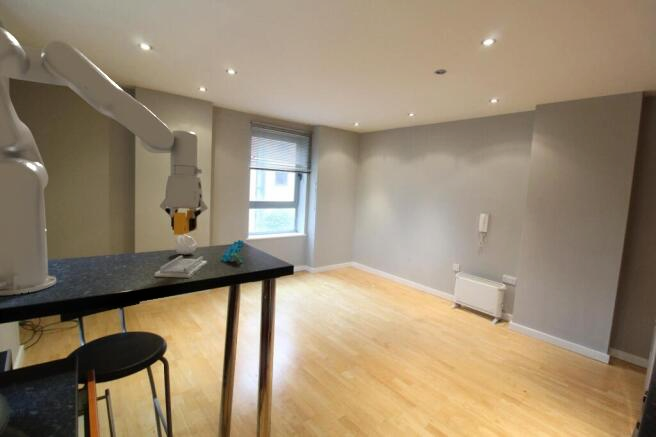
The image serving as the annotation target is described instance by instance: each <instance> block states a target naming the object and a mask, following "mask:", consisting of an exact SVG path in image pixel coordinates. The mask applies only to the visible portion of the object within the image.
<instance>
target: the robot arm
mask: <svg viewBox="0 0 656 437" xmlns="http://www.w3.org/2000/svg"><path fill="white" fill-rule="evenodd" d="M3 77H5V78H8V79H14V80H19V81H20V80H22V81H27V82H28V81H29V82H35V83H40V84H47V85H48V84H49V85H54V86H56V85H57V86H63V87H64V86H66V87H67V88H70V89H71V91H73V92H74V93H75V94H76V95H78V96H79V97H80V98H81V99H83V100H84V101H85V102H87V104H88V105H90V106H91V107H92V108H93V109H94V110H96V111H98V112H99V113H100V114H102V115H104V116H106V117H108V118H110V119H113V120H115V121H117V122H118V123H120V124H121V125H122V126H123V127H125V128H126V129H128V130H129V132H131V133H132V134H134V135H135V136H136V137H137V138H138V139H139V142H140V145H141V146H142V148H143V149H144V150H145V151H147V152H149V153H152V154H170V162H169V163H170V167H169V168H170V175H168V177H167V181H166V186H165V192H164V193H165V197H164V199H163V201H161V203H160V204H159V208H161V209H162V210H163V211H165V212H166V214H167V215H168V216H169V217H170V226H171V228H172V231H174V213H176V212H179V209H187V210H189V211H190V215H191V218H190V219H189V230H190V231H191V232H193V230H194V231H196V230H195V228H196V217H197V218H199V216H200V215H201V214H202V213H204V212H205V211H207V210H208V208H209V207H208V206H207V204H206V203H205V202H204V200H203V190H202V189H203V188H202V187H203V186H202V181H201V177H198V175H199V174H202V173H203V172H202V171H203V170H202V169H201V168H199V167H198V135H197V134H196V133H195V132H193V131H187V130H181V129H180V130H179V129H178V130H177V129H176V130H172V131H171V129H170V128H169V127H168V126H167V124H165V123H164V122H163V121H162V120H161V119H160V118H158V117H157V115H155V113H153V112H152V111H151V110H150V109H149V108H147V107H146V106H145V105H144V104H142V103H141V102H139V101H138V100H137V99H135V98H134V97H133V96H132V95H131V94H129V93H127V92H126V91H125V90H123V88H121V87H120V86H119V85H118V84H116V82H114V81H113V80H112V79H111V78H110V77H108V75H106V74H105V72H103V71H102V70H101V69H100V68H99V67H98V66H96V65H95V64H94V63H93V61H91V60H90V59H89V58H87V56H86V55H85V54H83V53H82V52H81V51H80V50H79V49H77V48H76V47H75V46H73V45H72V44H70V43H68V42H65V41H62V40H52V41H49V42H47V43H46V44H45V45H44V46H43V47H42V48H37V47H31V46H27V45H22V44H20V42H19V41H18V40H17V39H16V37H15V36H13V34H12V33H10V32H9V31H8V30H6V29H5V28H3V27H1V26H0V296H14V294H15V295H21V293H23V294H29V293H34V292H38V291H42V290H45V289H48V288H50V287H53V286H54V285H55V284H57V277H56V276H53V275H50V274H49V266H48V265H49V263H48V242H47V241H48V239H47V235H48V234H47V219H46V205H45V204H46V203H45V189H46V188H47V186H48V183H49V174H48V172H47V169H46V167H45V163H44V161H43V158H42V156H41V153H40V151H39V148H38V145H37V143H36V141H35V137H34V136H33V133H32V131H31V129H30V128H29V127H28V126H27V125H26V124H25V123H24V122H23V121H22V120H20V118H19V116H18V113H17V112H16V110H15V107H14V105H13V102H12V100H11V96H10V94H9V91H8V89H7V86H6V84H5V81H4V79H3ZM197 208H198V209H197ZM28 292H29V293H28Z"/></svg>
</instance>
